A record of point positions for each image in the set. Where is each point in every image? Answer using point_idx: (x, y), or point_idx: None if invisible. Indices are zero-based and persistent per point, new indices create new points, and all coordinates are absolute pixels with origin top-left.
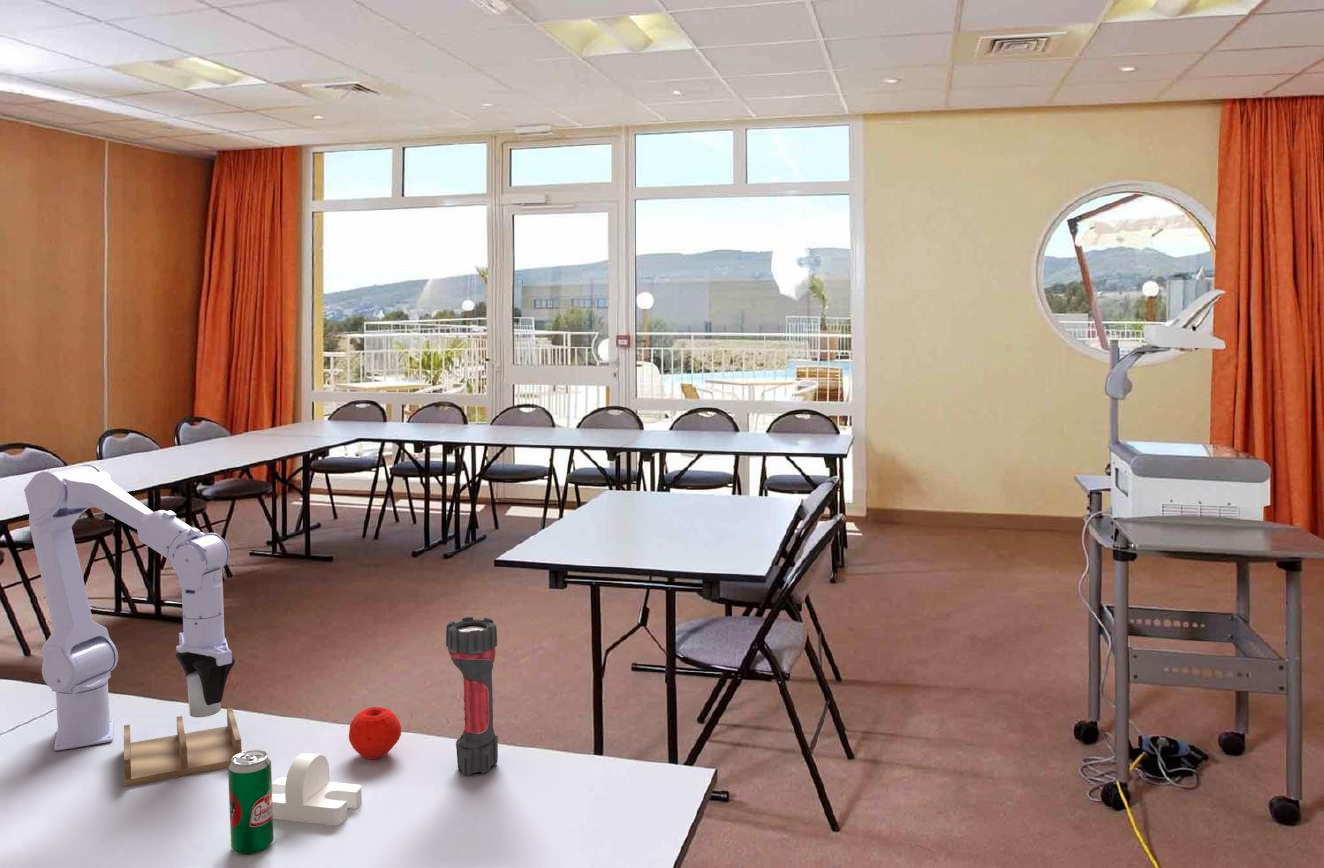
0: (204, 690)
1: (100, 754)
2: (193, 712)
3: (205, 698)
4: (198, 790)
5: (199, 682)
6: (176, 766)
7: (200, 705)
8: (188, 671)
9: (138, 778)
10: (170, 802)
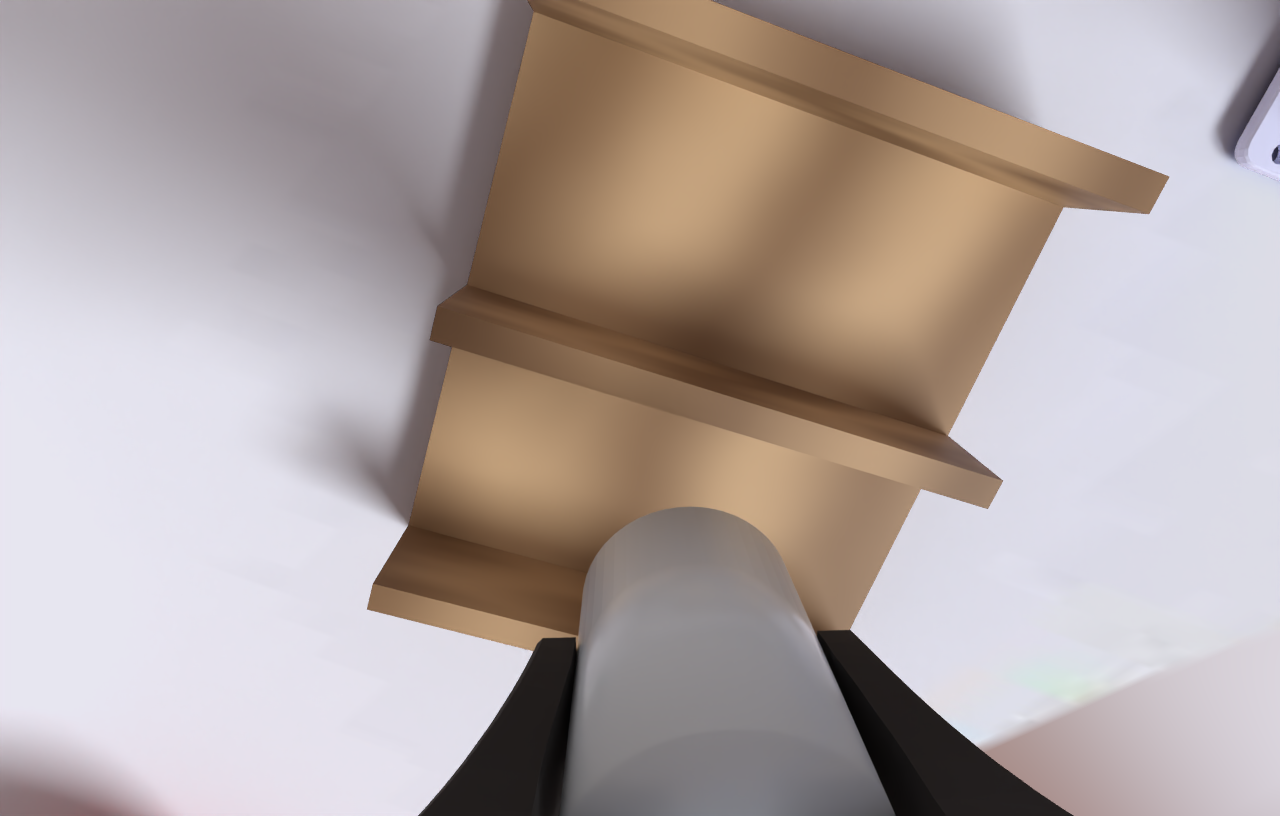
0: (502, 724)
1: (1119, 41)
2: (652, 530)
3: (536, 668)
4: (241, 273)
5: (580, 770)
6: (528, 277)
7: (598, 599)
8: (932, 812)
9: (523, 54)
10: (175, 107)
